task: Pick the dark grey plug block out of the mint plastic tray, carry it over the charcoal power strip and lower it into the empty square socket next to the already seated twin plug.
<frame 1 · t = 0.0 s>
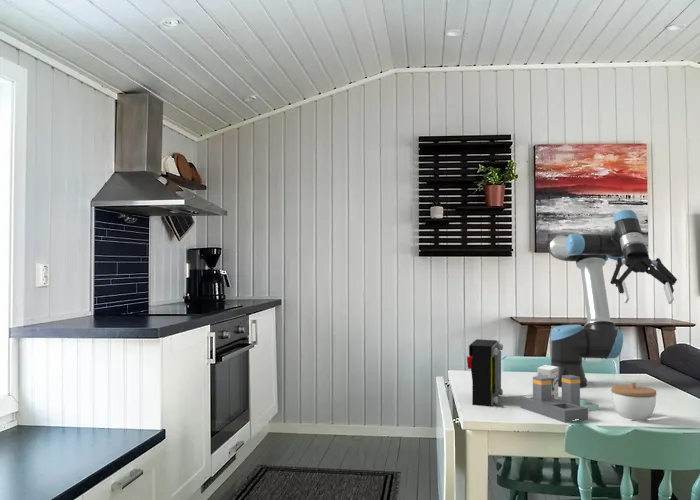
hand: (649, 301, 191), 36 cm above the table, tool tilted 35°, fingers open, 13 cm apart
ink box: (547, 401, 208), on the table
lidded bowl: (633, 419, 185), on the table
pdu strip: (552, 415, 188), on the table
electrical component: (485, 400, 208), on the table
plug: (570, 406, 197), point 1 cm above the table, touching tray
tray: (570, 408, 197), on the table
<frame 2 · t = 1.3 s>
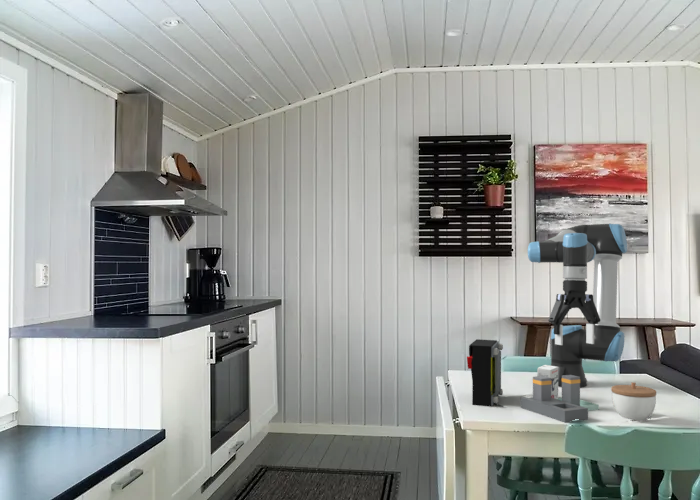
hand: (574, 344, 197), 21 cm above the table, tool pointing down, fingers open, 13 cm apart
nothing on the table moved.
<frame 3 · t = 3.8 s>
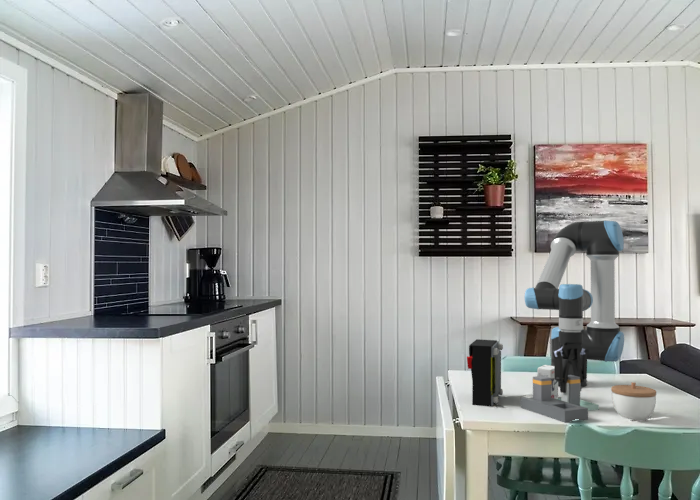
hand: (570, 401, 197), 2 cm above the table, tool pointing down, fingers closed on plug, 4 cm apart
plug: (570, 406, 197), point 1 cm above the table, touching gripper, tray
everything else where it was.
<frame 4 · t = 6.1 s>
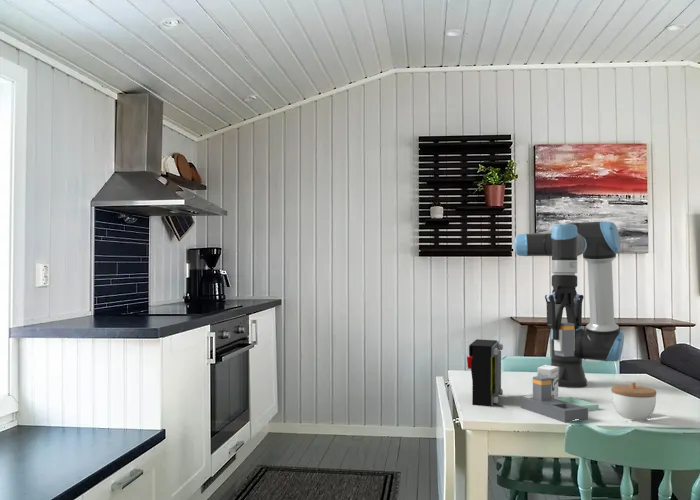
hand: (564, 350, 184), 21 cm above the table, tool pointing down, fingers closed on plug, 4 cm apart
plug: (564, 355, 184), point 19 cm above the table, touching gripper
everything else where it was.
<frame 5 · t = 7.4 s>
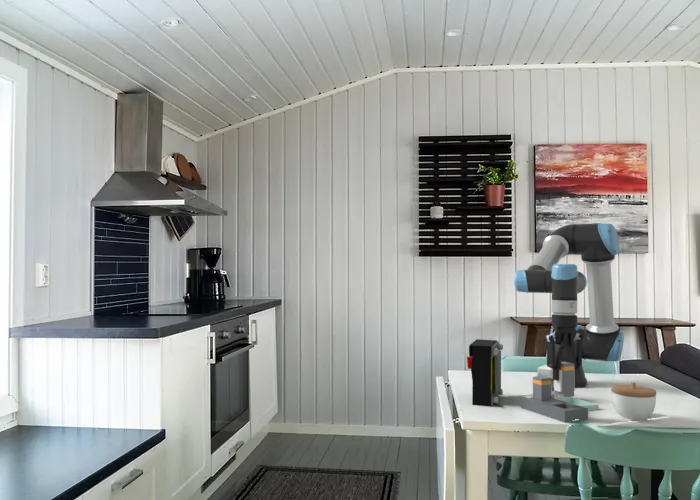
hand: (564, 390, 183), 9 cm above the table, tool pointing down, fingers closed on plug, 4 cm apart
plug: (564, 395, 183), point 7 cm above the table, touching gripper
everything else where it was.
when the fingers open (5 cm above the table, at t = 8.5 s): plug drops 2 cm, resting on pdu strip.
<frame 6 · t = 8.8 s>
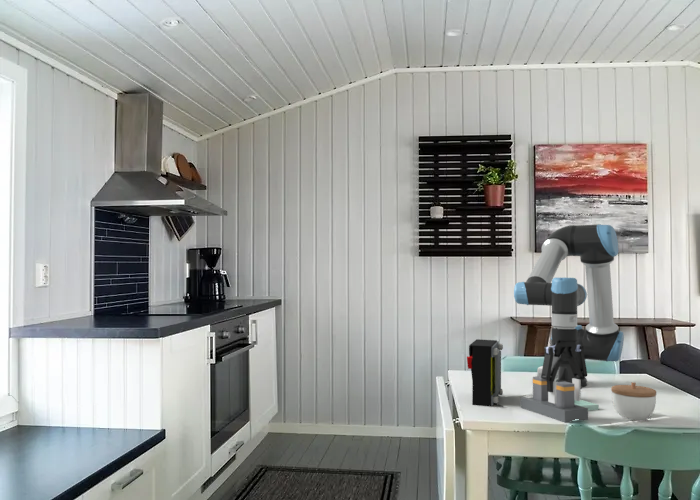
hand: (564, 401, 183), 5 cm above the table, tool pointing down, fingers open, 9 cm apart
plug: (564, 415, 183), point 1 cm above the table, touching pdu strip
everything else where it was.
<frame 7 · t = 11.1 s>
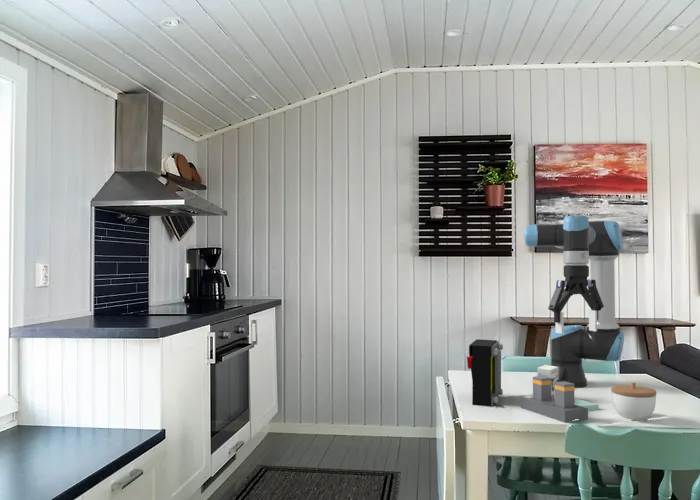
hand: (576, 332, 188), 26 cm above the table, tool pointing down, fingers open, 13 cm apart
nothing on the table moved.
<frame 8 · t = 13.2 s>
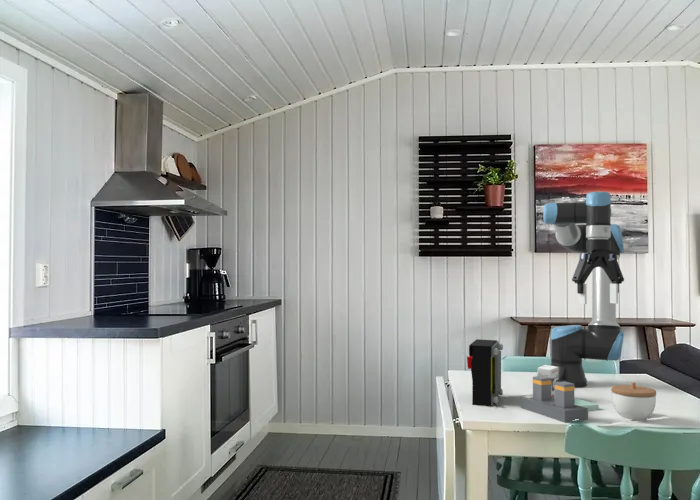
hand: (598, 303, 196), 35 cm above the table, tool pointing down, fingers open, 13 cm apart
nothing on the table moved.
at the end: plug 0.0 cm from the target spot on the pdu strip, point 1.0 cm above the pdu strip's base; plug tilted 0°; the gripper is holding nothing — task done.
